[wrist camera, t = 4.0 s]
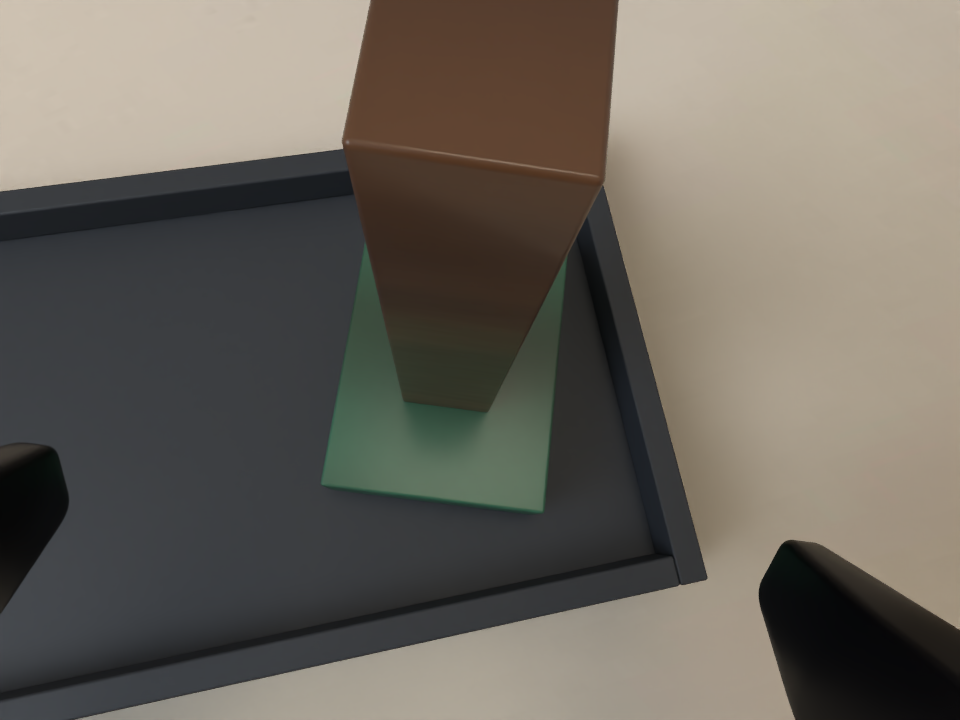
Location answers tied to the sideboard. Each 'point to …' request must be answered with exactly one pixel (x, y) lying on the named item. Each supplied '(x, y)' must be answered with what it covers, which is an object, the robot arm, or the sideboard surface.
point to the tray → (279, 446)
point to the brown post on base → (466, 241)
